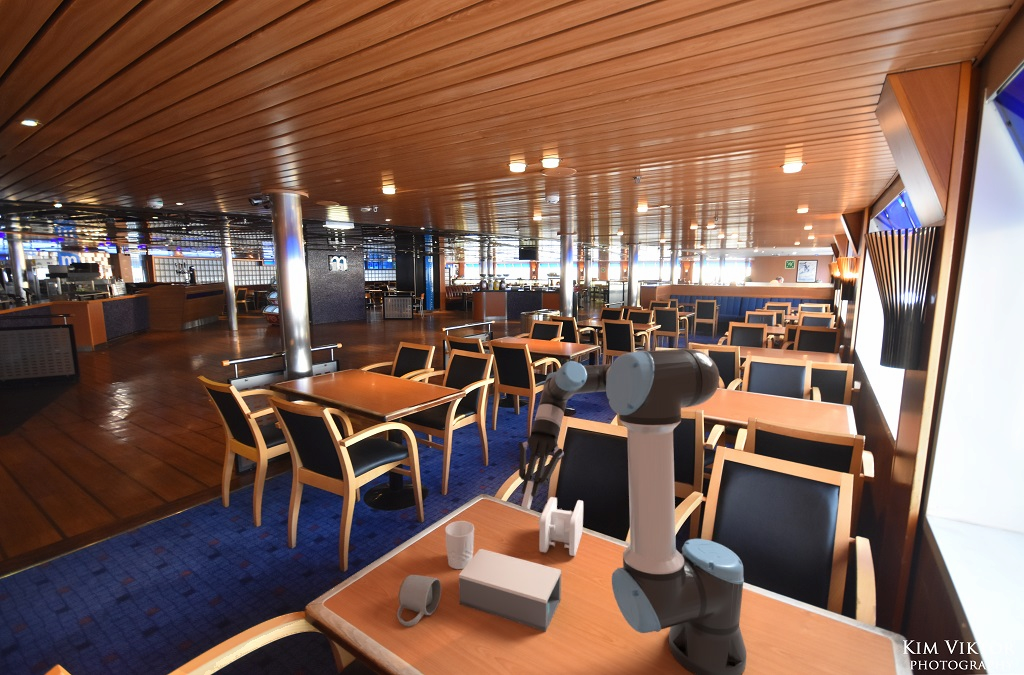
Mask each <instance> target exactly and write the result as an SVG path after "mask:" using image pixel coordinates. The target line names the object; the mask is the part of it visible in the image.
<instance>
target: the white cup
mask: <svg viewBox="0 0 1024 675" xmlns="http://www.w3.org/2000/svg"><path fill="white" fill-rule="evenodd" d="M444 532H445V545H446V547H445V549H446V555H447V563H448V566H449V567H451V568H452V569H455V570H463V569H464V568H465V567H466V565H467V564H468V563H469V562H470V560H471V559H472V558H473V557H474V546H475V544H474V542H475V526H474V524H473V523H472V522H470V521H466V520H456V521H453V522H450V523H449V524H447V525H446V526H445V528H444Z"/></svg>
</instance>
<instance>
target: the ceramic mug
mask: <svg viewBox="0 0 1024 675" xmlns="http://www.w3.org/2000/svg"><path fill="white" fill-rule="evenodd" d="M441 596H442V584H441V580H440V579H439V578H438V577H431V576H426V575H425V576H424V575H421V574H409V575H407V576H405V578H404V579H403V580H402V581H401V584H400V586H399V588H398V597H397V598H398V602H399V607H398V609H397V613H396V614H397V616H396V617H397V619H398V620H399V622H400V624H401V625H402V626H405V627H412V626H415V625H416V624H418V623H419V621H420V620H421V619H422V618H423V616H424V615H425V616H431V615H433V614H434V613H435V611H436V609H437V608H438V606H439V603H440V599H441V598H442V597H441ZM404 608H405V609H407V610H409V611H412V612H413V611H414V612H416V613H418V614H417V615H416V616H415V617H414V618H413V619H411V620H408V621H405V620H404V618H402V617H401V614H402V612H403V610H404Z"/></svg>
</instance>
